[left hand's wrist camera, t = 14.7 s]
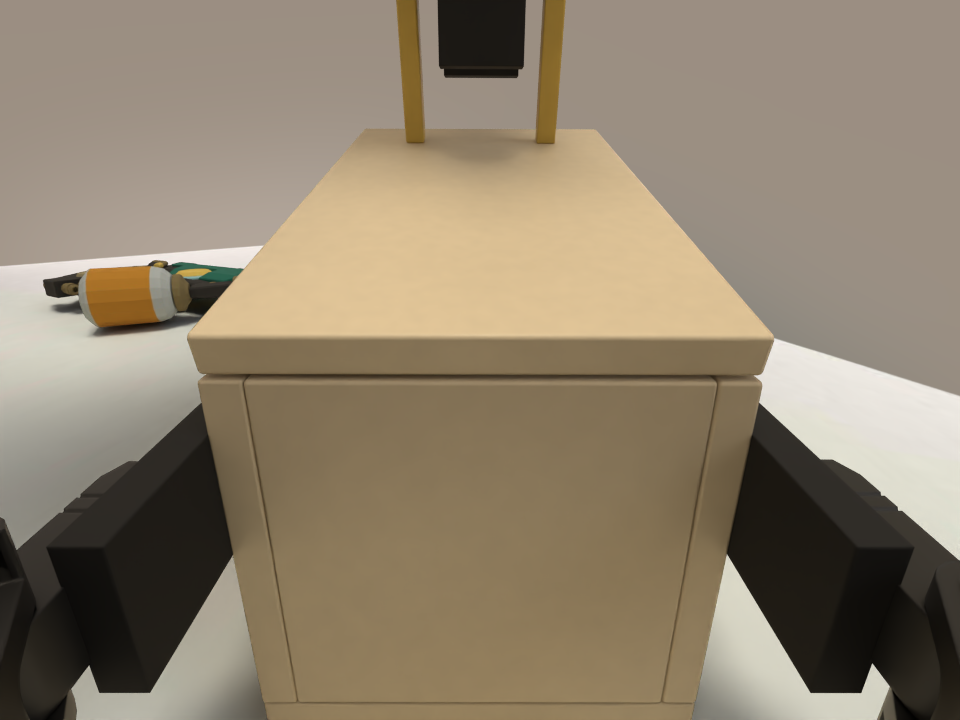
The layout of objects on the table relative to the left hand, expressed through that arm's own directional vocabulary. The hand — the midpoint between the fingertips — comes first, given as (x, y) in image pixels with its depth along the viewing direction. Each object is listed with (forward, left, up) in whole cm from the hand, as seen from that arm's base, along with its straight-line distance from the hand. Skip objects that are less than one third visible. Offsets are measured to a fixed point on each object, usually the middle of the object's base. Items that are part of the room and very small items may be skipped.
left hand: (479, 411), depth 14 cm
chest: (+4, -2, -6) cm, 8 cm away
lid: (+4, -2, +4) cm, 6 cm away
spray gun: (+41, +7, -6) cm, 42 cm away
